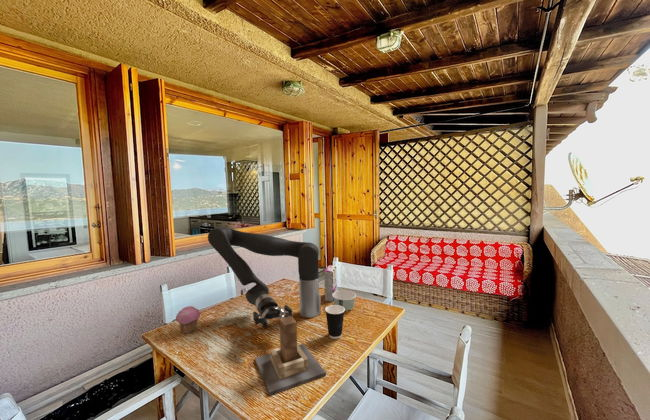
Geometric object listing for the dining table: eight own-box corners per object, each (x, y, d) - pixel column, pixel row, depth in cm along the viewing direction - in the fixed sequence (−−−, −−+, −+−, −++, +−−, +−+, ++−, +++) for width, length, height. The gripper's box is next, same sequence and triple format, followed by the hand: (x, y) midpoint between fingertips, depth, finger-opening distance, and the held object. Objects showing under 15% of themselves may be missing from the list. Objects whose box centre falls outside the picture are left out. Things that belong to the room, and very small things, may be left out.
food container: (355, 313, 127) (355, 300, 127) (330, 311, 129) (330, 298, 129) (357, 303, 139) (357, 291, 138) (334, 301, 141) (333, 289, 140)
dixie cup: (325, 330, 112) (325, 304, 111) (344, 330, 111) (344, 304, 111) (325, 341, 104) (324, 313, 103) (345, 341, 104) (345, 313, 103)
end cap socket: (303, 346, 100) (303, 334, 100) (325, 375, 84) (325, 361, 84) (255, 360, 92) (254, 347, 92) (269, 395, 76) (269, 380, 76)
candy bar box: (328, 293, 152) (328, 265, 151) (337, 294, 151) (336, 265, 150) (324, 301, 141) (323, 270, 140) (333, 302, 140) (333, 271, 139)
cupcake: (193, 323, 118) (192, 301, 118) (204, 329, 113) (203, 306, 113) (172, 332, 111) (171, 309, 110) (183, 339, 106) (182, 314, 105)
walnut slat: (292, 358, 91) (291, 315, 90) (297, 367, 87) (296, 322, 86) (280, 362, 89) (279, 318, 88) (285, 371, 85) (284, 325, 84)
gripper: (248, 300, 108) (258, 316, 94) (282, 294, 115) (296, 308, 100) (249, 318, 109) (258, 337, 94) (283, 311, 115) (296, 327, 101)
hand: (278, 322), depth 97 cm, fingers open, 8 cm apart
